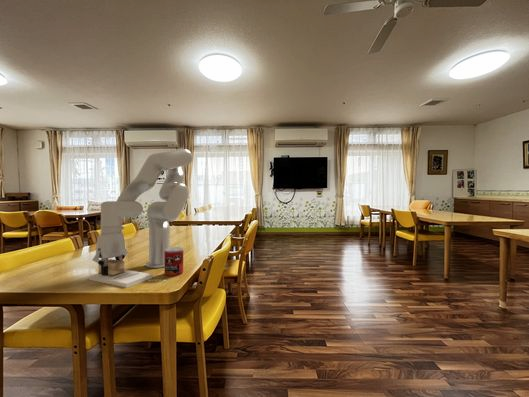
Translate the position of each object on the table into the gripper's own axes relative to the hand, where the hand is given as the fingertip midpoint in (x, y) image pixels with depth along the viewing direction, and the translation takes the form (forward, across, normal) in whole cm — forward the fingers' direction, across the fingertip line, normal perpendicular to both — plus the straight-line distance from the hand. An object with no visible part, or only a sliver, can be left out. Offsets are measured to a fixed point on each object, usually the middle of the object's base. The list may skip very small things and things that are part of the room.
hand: (111, 272), depth 103 cm
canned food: (+2, -14, +21) cm, 25 cm away
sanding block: (0, 0, 0) cm, 0 cm away
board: (+2, 0, +6) cm, 6 cm away
